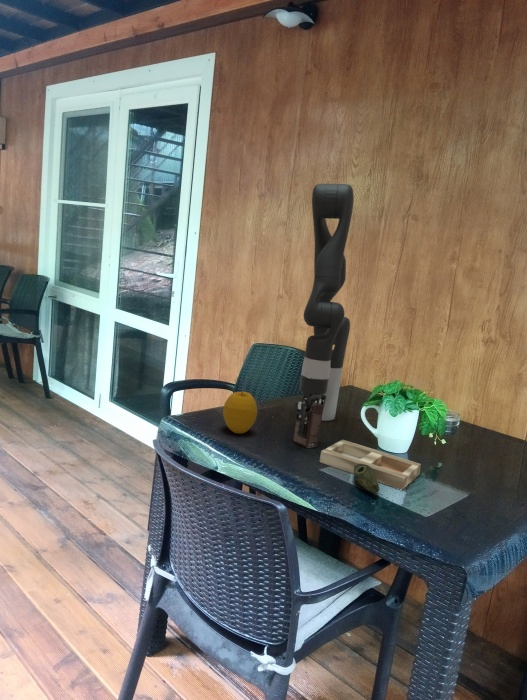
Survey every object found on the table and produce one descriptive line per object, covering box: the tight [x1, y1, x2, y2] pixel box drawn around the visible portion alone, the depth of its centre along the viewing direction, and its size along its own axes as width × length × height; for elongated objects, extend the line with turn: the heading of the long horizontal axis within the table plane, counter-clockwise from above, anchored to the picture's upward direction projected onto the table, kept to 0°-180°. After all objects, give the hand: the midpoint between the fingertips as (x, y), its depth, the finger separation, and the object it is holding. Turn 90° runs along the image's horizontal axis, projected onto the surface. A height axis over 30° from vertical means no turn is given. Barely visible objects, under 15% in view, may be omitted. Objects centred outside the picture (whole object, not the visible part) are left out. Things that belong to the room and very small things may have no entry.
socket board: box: [319, 439, 422, 490], centre depth 145 cm, size 13×22×3 cm, turn 58°
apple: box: [222, 391, 258, 435], centre depth 160 cm, size 10×10×12 cm
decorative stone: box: [353, 463, 380, 493], centre depth 134 cm, size 11×8×5 cm
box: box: [292, 399, 324, 449], centre depth 157 cm, size 6×4×12 cm
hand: (306, 433), depth 157 cm, fingers closed on box, 5 cm apart
